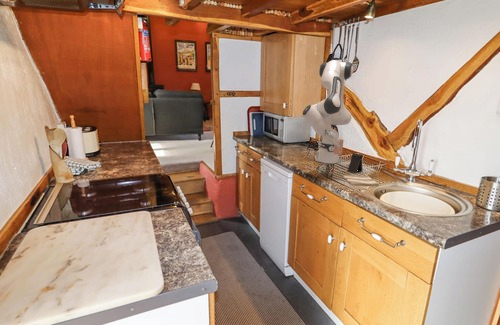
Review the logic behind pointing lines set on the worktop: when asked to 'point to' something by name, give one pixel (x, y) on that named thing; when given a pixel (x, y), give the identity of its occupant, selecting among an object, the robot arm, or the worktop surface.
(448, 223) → the worktop surface
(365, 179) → the ash board
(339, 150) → the terracotta block
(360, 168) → the door stopper
